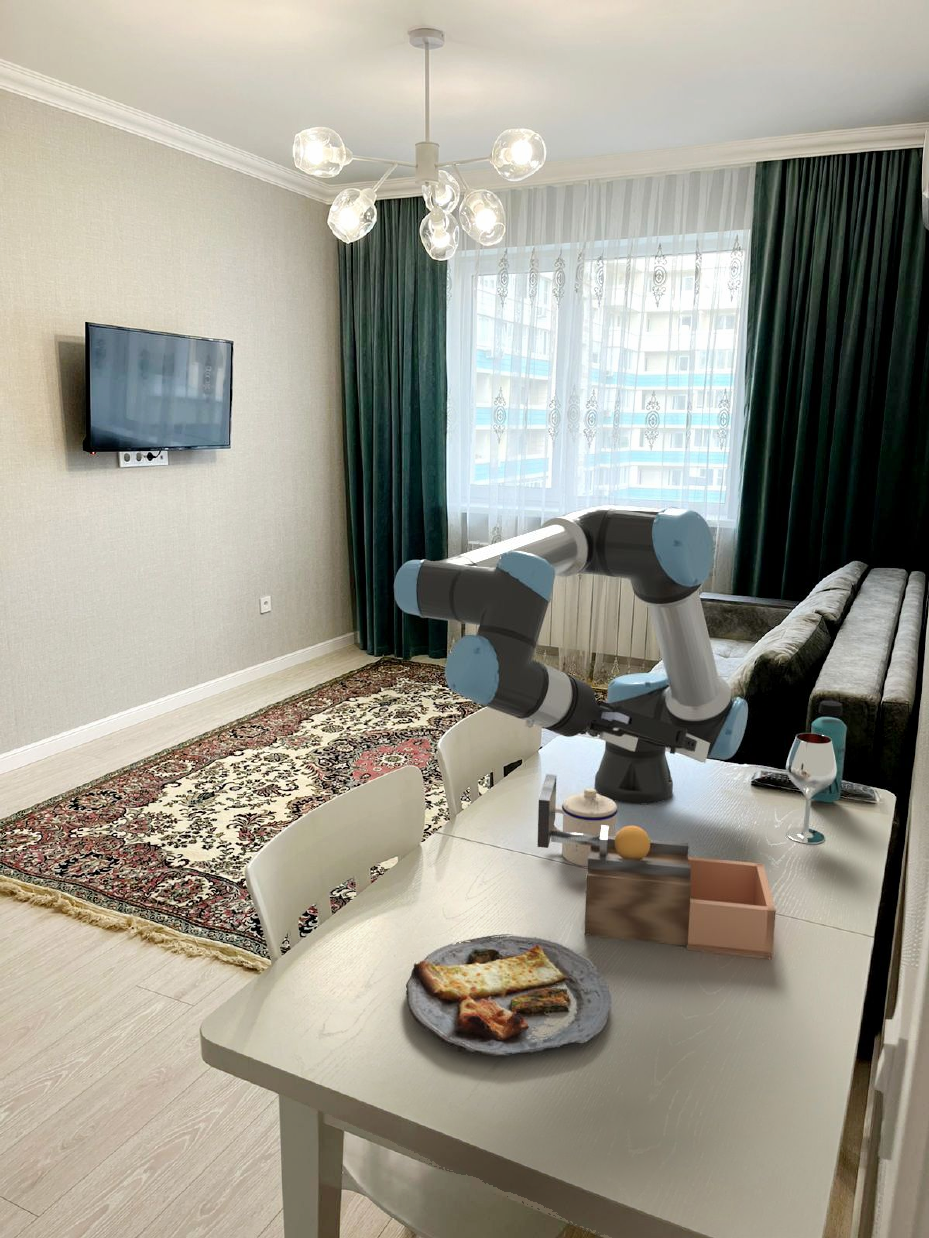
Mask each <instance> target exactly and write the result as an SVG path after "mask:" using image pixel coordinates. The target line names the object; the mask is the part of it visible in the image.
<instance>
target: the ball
mask: <svg viewBox="0 0 929 1238" xmlns="http://www.w3.org/2000/svg"><path fill="white" fill-rule="evenodd" d="M650 840H651V839H650V837H649V835H648V833H647V832H646V831H645V830H644V829H643V828H641V827H640V826H637V825H627V826H623V828H621V829H619V830H618V832H617V833H616V834H615V849H616V851H617V853H618V854H619V856H620V857H622V858H623V859H632V860H642V859H643V858H644V857H645V856H646V855H647V854H648V852H649V849H650Z"/></svg>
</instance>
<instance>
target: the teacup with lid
mask: <svg viewBox="0 0 929 1238" xmlns="http://www.w3.org/2000/svg"><path fill="white" fill-rule="evenodd" d="M618 810H619V809H618V806H617V804H616V801H614V800H611V799H609V798H607V797H604V796H602V795H600V794H599V793H598V792H597V791H596V790H595V788H593V787H587V788H585V789H584V790H583V792H581V793H579V794H573V795H571V796H567V798H565V799H564V800H563V801H562V805H561V807H558V806H556V809H555V814H557V813H558V814H560V815H561V814H562V832H573V833H584V834H595V835H601V826H602V825H603V826H609V827H608V836H612V837H616V826H617V825H616V821H617V820H616V819H617V813H618ZM552 831H561V830H560V829H558V828H557V827H556V826H555V824H554V826H553V830H552ZM590 848H591V846H590V845H579V844H568V843H561V854H562V856H563V857H564V859H565V860H566V861H567V862H570V863H572V864H574V865H577V866H582V867H588V855H590Z"/></svg>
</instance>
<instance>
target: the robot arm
mask: <svg viewBox="0 0 929 1238" xmlns="http://www.w3.org/2000/svg"><path fill="white" fill-rule="evenodd" d="M713 539H714V538H713V535H712V532H711V529H710V526H709V524H708V522H707V520H705V518H704V517H703V516H702V515H701V514H699V513H698V512H696V511H693V510H691V509H684V508H683V509H682V508H679V507H675V506H670V507H653V506H637V505H636V506H635V505H619V504H605V505H598V506H597V505H596V506H591V507H586V508H584V509H578V510H576V511H572V512H569V513H564V514H562V515H559V516H556V517H553V518H550V519H548V520H546V521H545V522H544V523H543V524H542V525H541V526H540V528H538V529H536V530H533V531H530V532H527V533H525V534H521V535H518V536H514V537H512V538H508V539H505V540H501V541H499V542H496V543H493V544H490V545H487V546H484V547H480V548H477V549H474V550H471V551H468V552H465V553H462V554H458V555H454V556H450V557H447V558H445V559H441V560H435V561H433V560H432V561H431V560H428V559H421V560H420V559H412V560H408V561H406V562H405V563H403V565H401V566H400V568H399V569H398V571H397V573H396V575H395V578H394V583H393V593H394V599H395V602H396V604H397V606H398V607H399V608H400V610H402V611H403V612H404V613H406V614H410V615H414V616H419V617H420V618H421V619H422V618H423V619H424V618H425V619H426V618H429V619H434V620H440V621H441V620H442V621H448V622H449V621H450V622H456V623H464V624H470V625H475V626H478V629H477V631H476V634H467V635H464V636H462V637H461V638H460V639H459V640H457V641H456V642H455V644H454V645H453V649H452V651H451V652H450V653H448V656H447V658H446V663H445V668H444V669H445V670H444V671H445V672H444V675H445V677H444V678H445V681H446V684H447V687H448V688H449V689H450V690H451V691H452V692H453V693H455V694H456V695H457V694H458V695H459V696H461V697H464V698H465V699H468V700H469V701H472V702H473V703H475V704H479V705H481V706H484V707H487V708H490V709H492V710H495V711H498V712H500V713H503V714H506V715H509V716H511V717H515V718H517V719H519V720H520V719H521V720H524V721H525V727H528V728H530V729H531V728H532V727H533V726H534V725H536V726H537V727H541V728H544V729H546V730H548V731H550V732H553V733H556V734H558V735H559V736H563V737H566V738H567V737H568V738H571V737H572V738H573V737H575V736H578V735H586V734H588V735H589V736H591V737H592V738H597V737H598V739H600V740H603V741H605V743H604V745H605V746H604V748H605V749H604V752H603V756H602V758H601V761H600V765H599V768H598V770H597V771H596V773H595V776H594V789H595V790H596V793H597V794H599V795H601V796H604V797H607V798H609V799H611V800H612V801H614V802H619V803H622V804H630V805H652V804H657V803H662V802H664V801H666V800H669V799H670V798H671V797H672V796H673V792H674V791H673V790H674V787H673V786H674V781H673V778H672V775H671V771H670V767H669V764H668V759H667V755H666V748H667V749H668V750H669V754H671V755H675V754H676V753H678V754H680V755H683V756H685V757H688V758H690V759H693V760H695V761H698V762H699V763H704V764H705V763H706V762H707V758H708V759H719V760H728V759H731V758H732V757H733V756H734V755H735V754H736V753H737V751H738V749H739V747H740V745H741V742H742V740H743V737H744V734H745V730H746V727H747V720H748V713H749V707H748V702H747V701H746V700H745V698H741V697H740V696H737V697H734V696H732V691H731V687H730V686H729V684H728V683H727V681H726V680H725V679H724V678H723V677H722V676H719V674H718V669H717V665H716V661H715V656H714V652H713V648H712V643H711V640H710V634H709V631H708V626H707V622H706V617H705V614H704V608H703V604H702V601H701V596H700V592H699V590H701V588H702V587H703V585H704V582H705V581H706V580H707V578H708V577H709V575H710V573H711V570H712V567H713V562H714V554H713V549H714V540H713ZM576 574H586V575H588V574H589V575H597V576H598V575H599V576H605V577H612V578H621V579H628V580H629V581H630V584H631V588H632V591H633V594H634V595H635V597H636V598H637V599H638V600H640V601H641V602H643V603H645V604H646V607H647V609H648V613H649V616H650V620H651V624H652V628H653V630H654V634H655V635H654V636H655V637H656V641H657V645H658V646H657V647H658V649H659V653H660V655H661V660H662V663H663V666H664V670H665V673H666V674H663V673H656V672H655V673H654V672H645V673H644V672H643V673H641V672H640V673H639V672H638V673H632V674H630V673H629V674H623V675H621V676H620V675H619V676H618V677H615V678H613V679H612V680H611V681H610V682H609V683H608V686H607V694H606V695H607V696H606V701H605V702H604V701H600V700H596V694H595V691H594V690H593V687H592V686H591V685H590V684H589V683H587V682H586V681H583V680H581V679H579V678H576V677H574V676H572V675H569V674H567V673H566V672H563V671H561V670H559V669H556V668H554V667H552V666H549V665H547V664H544V663H542V662H539V661H536V660H534V659H533V658H534V656H535V650H536V648H537V645H538V644H537V643H538V641H539V637H540V634H541V631H542V627H543V624H544V620H545V617H546V614H547V611H548V608H549V605H550V603H551V601H552V598H551V597H552V594H553V593H552V592H553V588H554V584H555V578H556V576H557V577H563V578H565V577H571V576H573V575H576ZM598 735H599V736H598Z"/></svg>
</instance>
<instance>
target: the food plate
mask: <svg viewBox="0 0 929 1238" xmlns="http://www.w3.org/2000/svg"><path fill="white" fill-rule="evenodd" d="M410 974H411V975H410V977H409V979H408V980H407V982H406V984H405V987H406V992H405V996H406V1000H407V1006H408V1008H409V1013H410V1014H411V1016H412V1017H413V1018H414V1020H415V1021H416V1022H417V1023H418V1024H419V1025H420V1026H421V1027H423V1028H424V1029H426V1030H428V1031H429V1032H431V1034H434V1035H435V1037H437V1038H438V1039H439V1040H440V1041H441V1043H445V1044H449V1045H450V1046H451V1047H455V1048H458V1052H461V1047H462V1048H463V1050H464V1051H466V1052H468V1053H472V1052H475V1051H479V1052H482V1055H484V1056H486V1057H492V1056H493V1057H495V1056H496V1057H497V1056H501V1055H502V1056H503V1055H504V1056H509V1054H512V1055H513V1054H519V1053H523V1054H524V1053H531V1054H532V1053H534V1052H539V1051H543V1050H545V1049H547V1048H548V1049H551V1048H560V1046H563V1045H566V1044H571V1043H578V1044H584V1043H587V1042H588V1041H589V1040H592V1038H593V1037H596V1035H598V1034H599V1033H600V1032H602V1030H603V1028H604V1027H605V1026H606V1025H607V1020H608V1019H609V1011H610V1009H611V1005H612V995H611V992H610V991H611V990H610V985H609V984H608V983H607V982H608V981H606V979H605V977H604V976H603V974H602V973H601V972H600V971H599V970H598V969H597V967H596V965H595V964H593V962H592V960H590V959H589V958H587V957H585V956H583V955H581V954H580V953H577V952H576V951H574V950H573V949H571V948H570V947H567V946H565V945H563V944H561V943H558V942H555V941H551V940H549V939H545V938H541V937H533V936H532V937H529V936H519V935H512V934H511V933H509V934H508V933H506V934H503V933H502V934H496V935H495V934H493V935H487V936H480V937H475V938H471V939H465V940H463V941H462V940H461V941H457V942H455V943H454V942H452V943H449V944H447V945H444V946H442V947H440V948H437V949H435V950H434V951H432V952H431V953H429V954H428V955H427V956H426V957H425V958H424V959H423V960H421V961H419V962H418V963H416V962H415V963H414V964H413V969H412V970H411V973H410ZM560 983H563V984H564V985H565V986H566V988H558V987H554V986H558V984H560ZM568 990H569V992H570V994H571V995H572V997H573V999H574V1000H575V1001H576V1003H575V1005H576V1008H575V1011H576V1012H575V1013H574V1014H573V1017H574V1018H573V1019H572V1020H570V1021H568V1022H567V1023H568V1025H567V1026H565V1025H564V1026H561V1027H559V1028H558V1029H556V1030H555V1031H556V1032H557V1033H556V1032H554V1031H553V1030H552V1031H551V1032H552V1034H551V1035H548V1034H547V1033H544V1034H543V1036H538V1035H536V1034H534V1032H537V1033H538V1032H539V1029H538V1028H541V1027H544V1026H545V1027H546V1028H551V1027H554V1026H555V1025H554V1024H552V1025H551V1023H546V1021H547V1020H548V1019H547V1018H550V1015H548V1014H553V1013H565V1012H566V1013H571V1012H570V1010H569V1009H570V1008H569V1006H571V1004H572V1000H571V998H570V995H569V994H568ZM552 1016H553V1017H555V1015H552ZM568 1018H571V1016H570V1015H569V1016H568ZM530 1035H531V1036H530ZM540 1035H541V1034H540ZM529 1036H530V1037H529ZM528 1037H529V1038H528ZM541 1038H542V1039H541ZM460 1046H461V1047H460Z"/></svg>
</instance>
